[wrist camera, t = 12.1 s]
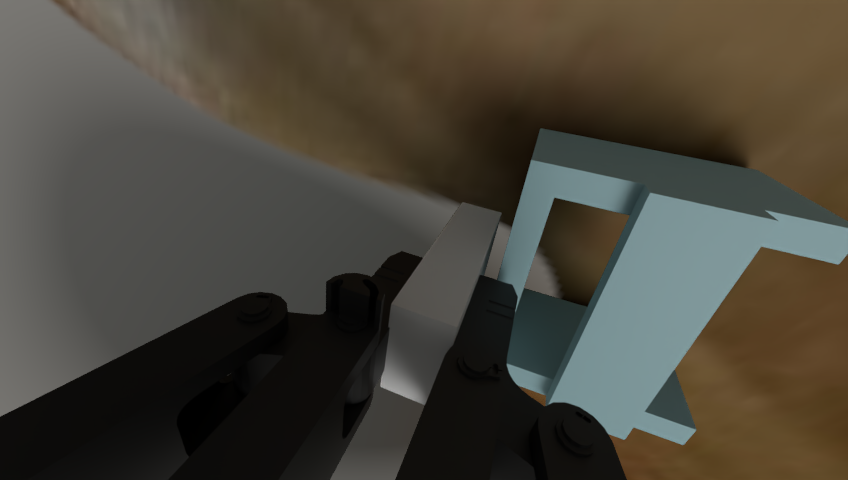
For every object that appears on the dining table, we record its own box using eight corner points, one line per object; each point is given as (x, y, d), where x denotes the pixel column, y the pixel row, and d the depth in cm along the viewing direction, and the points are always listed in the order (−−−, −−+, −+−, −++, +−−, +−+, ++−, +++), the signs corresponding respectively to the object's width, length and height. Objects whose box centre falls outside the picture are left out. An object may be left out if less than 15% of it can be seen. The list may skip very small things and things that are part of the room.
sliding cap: (493, 293, 16) (467, 381, 12) (540, 128, 13) (529, 166, 8) (650, 342, 15) (689, 463, 10) (758, 170, 11) (889, 245, 7)
